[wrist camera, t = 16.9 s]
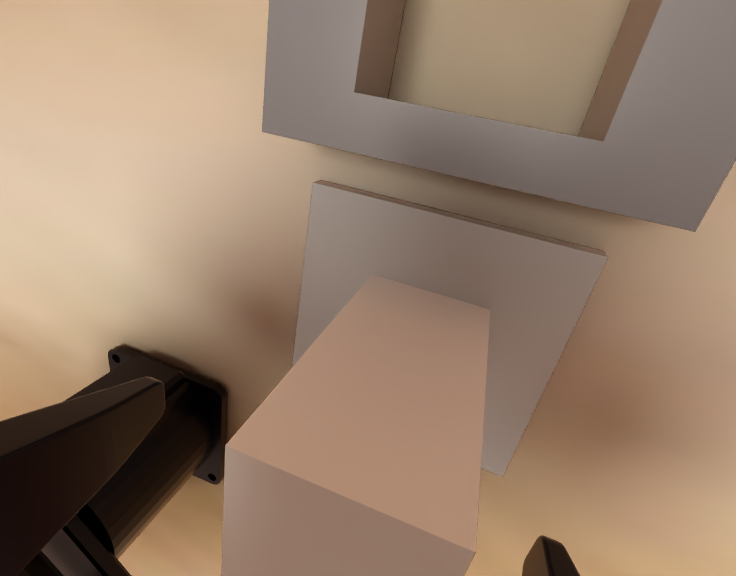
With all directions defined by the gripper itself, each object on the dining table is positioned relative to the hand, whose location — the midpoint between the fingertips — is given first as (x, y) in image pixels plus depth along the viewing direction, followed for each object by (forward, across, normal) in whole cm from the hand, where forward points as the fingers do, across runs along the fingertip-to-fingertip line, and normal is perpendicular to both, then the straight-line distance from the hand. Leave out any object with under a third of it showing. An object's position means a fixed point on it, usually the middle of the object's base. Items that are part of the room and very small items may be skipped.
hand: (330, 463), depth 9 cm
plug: (+6, -1, 0) cm, 6 cm away
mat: (+6, -1, 0) cm, 7 cm away
